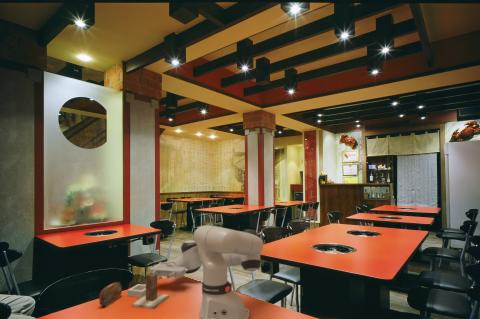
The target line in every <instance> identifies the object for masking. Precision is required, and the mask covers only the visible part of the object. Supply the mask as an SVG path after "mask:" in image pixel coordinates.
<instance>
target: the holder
mask: <svg viewBox="0 0 480 319" xmlns="http://www.w3.org/2000/svg"><path fill="white" fill-rule="evenodd" d="M145 295H146V284H141V283H140V284H139V283H137V284H136V285H134V286H132V287H130V288H129V289H127V297H134V298H142V297H143V296H145Z"/></svg>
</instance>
